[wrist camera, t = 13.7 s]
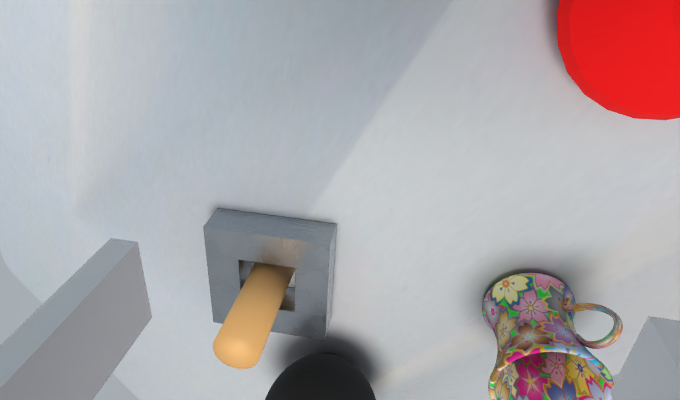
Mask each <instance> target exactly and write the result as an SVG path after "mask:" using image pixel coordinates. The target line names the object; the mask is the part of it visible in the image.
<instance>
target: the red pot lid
mask: <svg viewBox="0 0 680 400" xmlns="http://www.w3.org/2000/svg"><path fill="white" fill-rule="evenodd" d="M557 31H558V47H559V49H560V52H561V55H562V58H563V61H564V63H565V66H566V69H567V72H568V74H569V75H570V76H571V77H572V79H573V80H574V81H575V83H576V84H577V85H578V86H579V88H580V89H581V90H582V92H583V93H584V94H585V95H586V96H588V97H589V98H591V99H592V100H594V101H595V102H597V103H598V104H600V105H601V106H603V107H604V108H606V109H607V110H610V111H613V112H616V113H619V114H623V115H626V116H629V117H632V118H638V119H656V120H669V119H675V118H680V0H560V2H559V6H558V11H557Z"/></svg>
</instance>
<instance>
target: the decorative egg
mask: <svg viewBox="0 0 680 400" xmlns="http://www.w3.org/2000/svg"><path fill="white" fill-rule="evenodd" d="M265 400H376V399H375V396H374V393H373V390H372V388H371V386H370V384H369V382H368V380H367V379H366V377H365V376H364V375H363V373H362V372H361V371H360V370H359V369H358V368H357V367H356V366H355V365H354V364H352V363H351V362H349V361H348V360H346V359H344V358H342V357H340V356H337V355H333V354H325V353H323V354H313V355H309V356H306V357H303V358H301V359H299V360H298V361H296V362H294V363H293V364H291V365H290V366H289V367H288V368H286V369H285V370H284V371H283V372H282V373H281V374H280V376H279V377H278V378H277V379H276V381H275V382H274V384H273V385H272V387H271V388H270V390H269V392H268V394H267V396H266V399H265Z"/></svg>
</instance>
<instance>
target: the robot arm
mask: <svg viewBox="0 0 680 400" xmlns="http://www.w3.org/2000/svg"><path fill="white" fill-rule="evenodd" d="M151 318H152V315H151V310H150V304H149V299H148V294H147V289H146V284H145V279H144V273H143V268H142V263H141V258H140V253H139V248H138V242H134V241H127V240H120V239H113V238H111V239H110V240H109V241H108V242H107V243H106V244H105V245H104V246H103V247H102V248H101V249H99V250H98V251H97V252H96V253H95V254H94V255H93V256H92V257H91V258H90V259H89V260H88V261H87V262H86V263H85V264H84V265H83V266H82V267H81V268H80V269H79V270H78V271H77V272H76V273H75V274H74V275H73V276H72V277H71V278H70V279H68V280H67V281H66V282H65V283H64V284H63V285H62V286H61V287H60V288H59V289H58V290H57V291H56V292H55V293H54V294H53V295H52V296H51V297H50V298H49V299H48V300H47V301H46V302H45V303H44V304H43V305H42V306H41V307H40V308H39V309H38V310H36V311H35V312H34V313H33V314H32V315H31V316H30V317H29V318H28V319H27V320H26V321H25V322H24V323H23V324H22V325H21V326H20V327H19V328H18V329H17V330H16V331H15V332H14V333H13V334H12V335H11V336H10V337H9V338H8V339H6V341H4V342H3V344H1V345H0V400H93V399H94V397H95V396H96V395H97V393H98V392H99V390H100V389H101V388H102V386H103V385H104V383H105V382H106V381H107V379H108V378H109V377H110V375H111V374H112V372H113V371H114V370H115V368H116V367H117V365H118V364H119V363H120V361H121V360H122V358H123V357H124V356H125V354H126V353H127V351H128V350H129V349H130V347H131V346H132V344H133V343H134V342H135V340H136V339H137V337H138V336H139V335H140V333H141V332H142V330H143V329H144V328H145V326H146V325H147V323H148V322H149V321H150V319H151ZM610 394H611V396H612V399H613V400H680V321H677V320H670V319H664V318H657V317H650V316H648V318H647V320H646V322H645V324H644V326H643V328H642V330H641V332H640V334H639V336H638V338H637V340H636V342H635V344H634V346H633V348H632V350H631V352H630V354H629V356H628V358H627V360H626V362H625V363H624V365H623V367H622V369H621V371H620V373H619V375H618V377H617V379H616V381H615V383H614V385H613V387H612V389H611V391H610Z"/></svg>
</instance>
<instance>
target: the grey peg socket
mask: <svg viewBox="0 0 680 400" xmlns="http://www.w3.org/2000/svg"><path fill="white" fill-rule="evenodd" d="M203 228H204V238H205V247H206V256H207V266H208V275H209V284H210V294H211V303H212V313H213V322H216V323H222V324H223V323H224V321H225V319H226V317H227V316H228V314H229V312H230V310H231V308H232V306H233V304H234V302H235V300H236V298H237V296H238V295H239V293H240V291H241V289H242V287H243V285H244V283H245V281H246V279H247V277H248V276H249V274H250V272H251V270H252V268H251V261H252V262H259V263H266V264H273V265H280V266H287V267H293V268H295V288H290V287H288V288H287V290H286V293H285V295H284V298H283V300H282V303H281V305H280V308H279V310H278V313H277V316H276V318H275V321H274V323H273V326H272V328H271V331H272V332H278V333H284V334H290V335H296V336H302V337H309V338H315V339H321V340H325V339H326V335H327V331H328V327H329V323H330V319H331V311H332V294H333V278H334V261H335V245H336V228H337V224H332V223H325V222H317V221H310V220H302V219H295V218H288V217H280V216H273V215H265V214H258V213H250V212H243V211H235V210H228V209H220V208H217V210H216V211H215V212H214V214H213V215H212V216H211V218H210V219H209V220H208V222H207V223H206V224H205V225H204V227H203Z"/></svg>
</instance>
